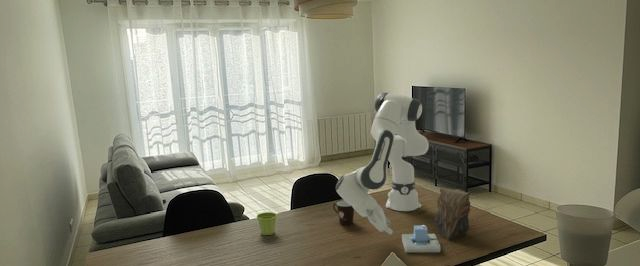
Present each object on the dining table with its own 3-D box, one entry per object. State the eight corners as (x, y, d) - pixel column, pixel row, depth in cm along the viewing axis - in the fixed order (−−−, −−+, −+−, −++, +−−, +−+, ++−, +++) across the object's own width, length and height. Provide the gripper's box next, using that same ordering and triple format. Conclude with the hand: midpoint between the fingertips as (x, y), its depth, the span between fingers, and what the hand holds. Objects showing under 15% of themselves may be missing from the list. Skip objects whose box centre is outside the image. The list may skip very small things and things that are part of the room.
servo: (410, 243, 189) (410, 223, 187) (428, 243, 188) (428, 223, 187) (412, 247, 184) (412, 227, 183) (430, 247, 184) (430, 227, 182)
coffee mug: (358, 224, 213) (357, 204, 212) (341, 227, 210) (341, 207, 208) (347, 217, 224) (347, 198, 222) (332, 219, 221) (331, 200, 219)
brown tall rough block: (433, 230, 203) (434, 188, 200) (458, 227, 206) (459, 185, 202) (446, 240, 191) (447, 196, 188) (473, 237, 193) (474, 193, 190)
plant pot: (265, 228, 213) (264, 210, 212) (281, 231, 208) (280, 213, 207) (253, 234, 205) (252, 217, 204) (269, 238, 200) (268, 220, 199)
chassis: (402, 240, 193) (402, 234, 192) (434, 240, 192) (434, 233, 191) (405, 252, 181) (405, 245, 180) (440, 252, 180) (440, 245, 179)
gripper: (373, 209, 174) (398, 233, 175) (370, 194, 195) (393, 215, 196) (362, 220, 175) (387, 243, 176) (360, 203, 196) (383, 224, 197)
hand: (390, 228), depth 186 cm, fingers open, 8 cm apart
